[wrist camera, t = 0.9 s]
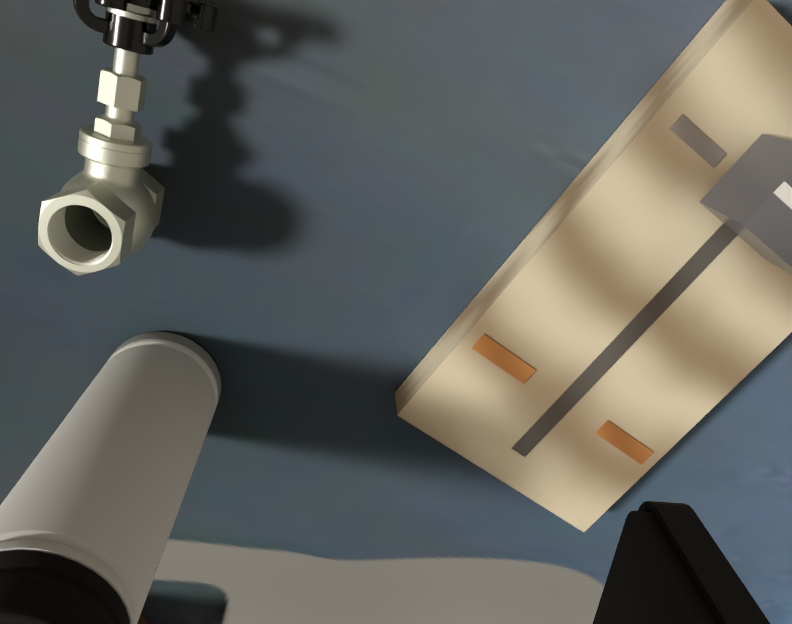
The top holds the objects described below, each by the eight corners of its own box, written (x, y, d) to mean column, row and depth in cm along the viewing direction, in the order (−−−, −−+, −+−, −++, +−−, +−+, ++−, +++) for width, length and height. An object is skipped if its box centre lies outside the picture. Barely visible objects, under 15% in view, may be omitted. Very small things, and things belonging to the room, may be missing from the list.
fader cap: (762, 133, 32) (817, 148, 28) (829, 196, 33) (890, 219, 29) (699, 201, 33) (743, 225, 29) (766, 260, 34) (817, 290, 30)
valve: (189, 251, 35) (231, 8, 31) (154, 299, 29) (201, 5, 25) (57, 219, 34) (82, -36, 30) (-7, 261, 28) (12, -51, 24)
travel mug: (80, 355, 37) (-190, 679, 19) (189, 313, 37) (20, 605, 18) (137, 444, 40) (-53, 809, 21) (241, 406, 39) (137, 748, 21)
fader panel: (730, -5, 32) (760, -8, 29) (907, 173, 36) (947, 184, 33) (394, 392, 39) (397, 416, 37) (571, 505, 43) (584, 533, 41)
